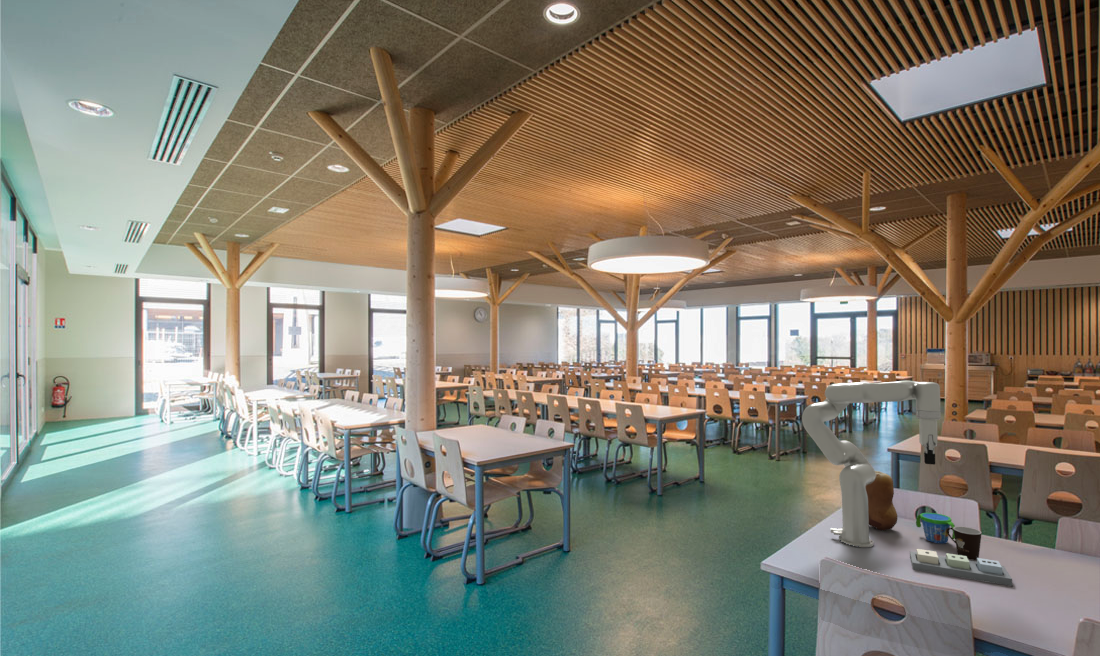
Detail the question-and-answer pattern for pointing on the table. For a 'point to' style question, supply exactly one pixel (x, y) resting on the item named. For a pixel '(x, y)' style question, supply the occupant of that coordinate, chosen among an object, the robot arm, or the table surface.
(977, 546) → the coffee mug
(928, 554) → the tile
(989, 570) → the tile
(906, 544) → the table surface
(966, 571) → the board
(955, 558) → the two-dot tile
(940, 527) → the snack cup
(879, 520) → the butternut squash
